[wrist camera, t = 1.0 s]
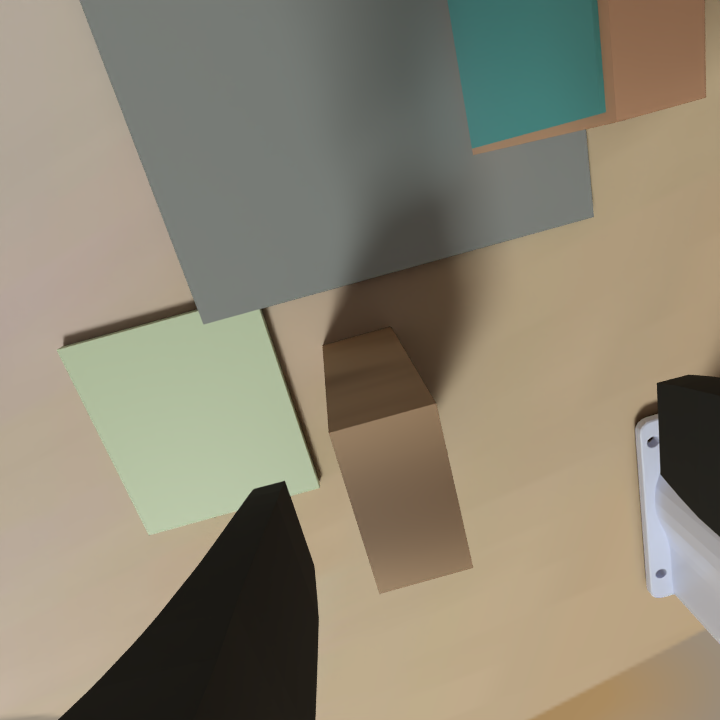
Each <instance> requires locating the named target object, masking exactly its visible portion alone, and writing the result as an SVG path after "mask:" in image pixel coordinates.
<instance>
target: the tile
mask: <svg viewBox="0 0 720 720" xmlns="http://www.w3.org/2000/svg"><path fill="white" fill-rule="evenodd" d="M447 1H448V8H449V14H450V20H451V26H452V32H453V38H454V44H455V50H456V56H457V62H458V68H459V74H460V80H461V86H462V92H463V98H464V104H465V110H466V116H467V122H468V128H469V134H470V140H471V146H472V152H473V155H476V154H480V153H485V152H489V151H494V150H498V149H502V148H507V147H511V146H515V145H520V144H524V143H528V142H533V141H537V140H541V139H546V138H550V137H554V136H559V135H563V134H567V133H572V132H576V131H580V130H585V129H589V128H594V127H598V126H602V125H607V124H611V123H615V122H619V121H623V120H626V119H630V118H634V117H637V116H641V115H645V114H648V113H652V112H656V111H659V110H663V109H666V108H670V107H674V106H677V105H681V104H685V103H688V102H692V101H695V100H699V99H703V98H706V65H705V0H447Z"/></svg>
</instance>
